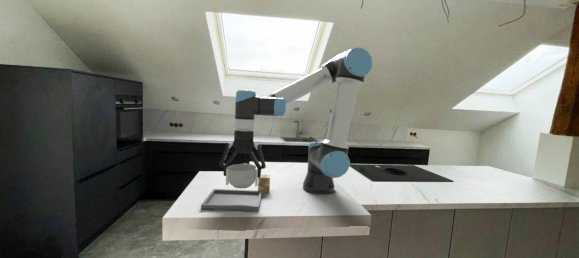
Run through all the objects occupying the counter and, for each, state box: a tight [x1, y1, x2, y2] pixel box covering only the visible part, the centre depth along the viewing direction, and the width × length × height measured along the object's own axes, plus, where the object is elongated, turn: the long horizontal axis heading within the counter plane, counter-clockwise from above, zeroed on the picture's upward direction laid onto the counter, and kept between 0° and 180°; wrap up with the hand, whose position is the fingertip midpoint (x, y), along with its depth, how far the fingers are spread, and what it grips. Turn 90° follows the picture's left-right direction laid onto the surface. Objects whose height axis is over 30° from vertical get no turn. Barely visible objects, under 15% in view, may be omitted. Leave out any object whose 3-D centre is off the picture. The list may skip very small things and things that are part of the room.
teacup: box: [228, 162, 257, 189], centre depth 104 cm, size 14×11×8 cm
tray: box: [200, 188, 263, 212], centre depth 105 cm, size 21×18×2 cm
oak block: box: [257, 174, 271, 194], centre depth 119 cm, size 5×5×7 cm
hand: (241, 184), depth 105 cm, fingers closed on teacup, 11 cm apart
